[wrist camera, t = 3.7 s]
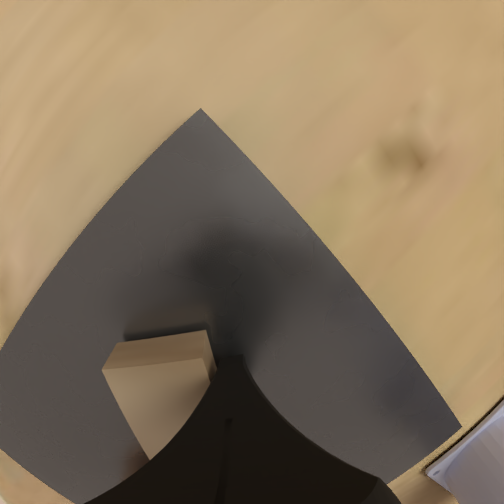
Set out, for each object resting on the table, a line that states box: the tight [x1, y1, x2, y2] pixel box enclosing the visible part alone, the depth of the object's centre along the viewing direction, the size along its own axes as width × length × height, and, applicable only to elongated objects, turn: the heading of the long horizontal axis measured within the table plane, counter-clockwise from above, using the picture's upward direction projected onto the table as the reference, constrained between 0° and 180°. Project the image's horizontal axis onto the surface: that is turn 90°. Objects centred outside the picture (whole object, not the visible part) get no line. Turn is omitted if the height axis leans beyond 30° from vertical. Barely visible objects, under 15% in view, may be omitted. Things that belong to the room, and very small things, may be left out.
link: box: [102, 330, 217, 460], centre depth 11 cm, size 15×4×2 cm, turn 10°
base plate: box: [0, 108, 462, 504], centre depth 10 cm, size 19×20×6 cm
